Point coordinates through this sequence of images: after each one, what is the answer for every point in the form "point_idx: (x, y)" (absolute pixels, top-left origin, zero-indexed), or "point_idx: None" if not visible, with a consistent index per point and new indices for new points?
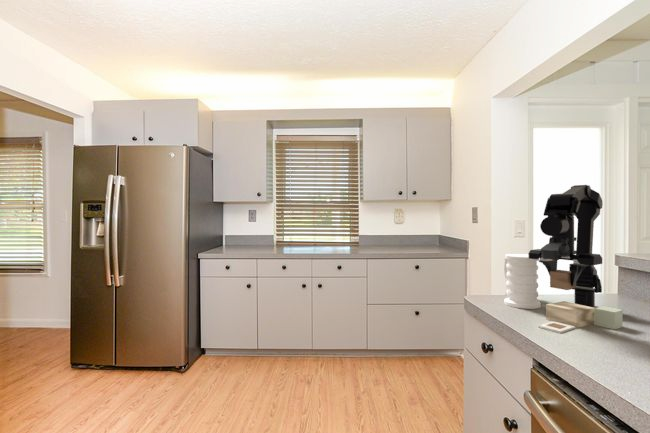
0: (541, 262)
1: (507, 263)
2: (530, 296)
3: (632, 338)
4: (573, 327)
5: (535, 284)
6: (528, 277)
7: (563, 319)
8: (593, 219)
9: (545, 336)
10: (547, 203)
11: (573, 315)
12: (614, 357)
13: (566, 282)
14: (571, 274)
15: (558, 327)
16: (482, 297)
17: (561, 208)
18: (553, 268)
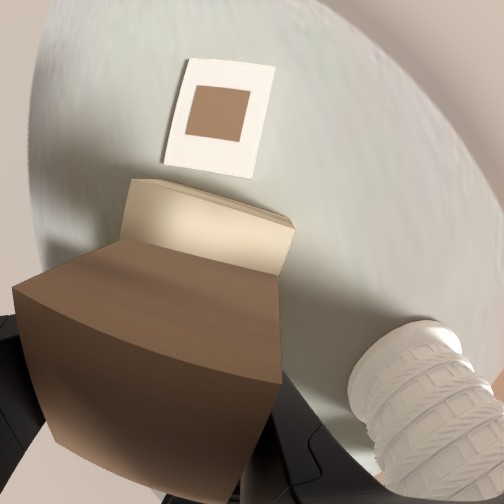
0: (486, 500)
1: None
2: (393, 381)
3: (44, 195)
4: (166, 152)
5: (389, 442)
6: (437, 441)
7: (208, 194)
8: None
9: (222, 2)
10: None
11: (154, 182)
12: (75, 15)
13: (94, 254)
14: (18, 330)
15: (204, 92)
16: (500, 357)
17: None
18: (259, 496)
